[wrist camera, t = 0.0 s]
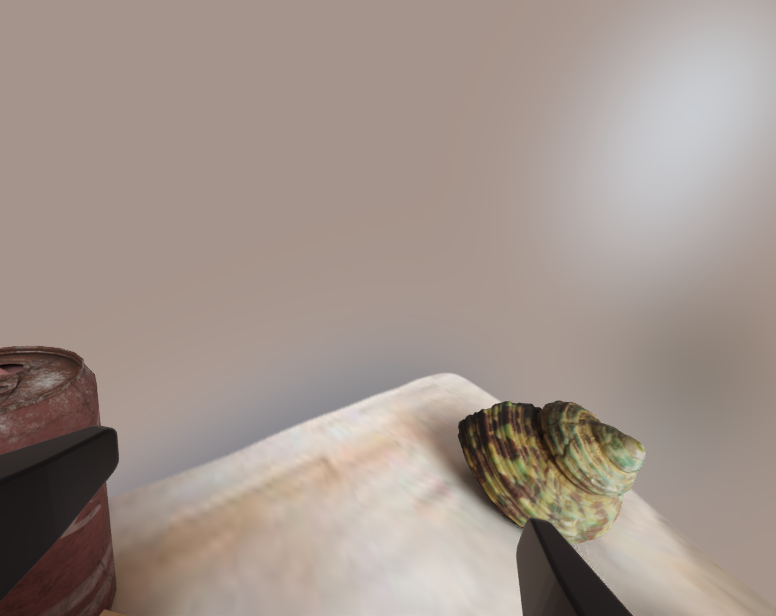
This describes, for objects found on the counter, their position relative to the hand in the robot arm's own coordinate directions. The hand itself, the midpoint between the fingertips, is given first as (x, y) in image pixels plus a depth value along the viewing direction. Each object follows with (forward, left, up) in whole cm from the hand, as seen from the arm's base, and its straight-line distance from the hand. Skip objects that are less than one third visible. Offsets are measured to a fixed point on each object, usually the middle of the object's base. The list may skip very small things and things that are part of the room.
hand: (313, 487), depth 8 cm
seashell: (+20, -14, -17) cm, 29 cm away
